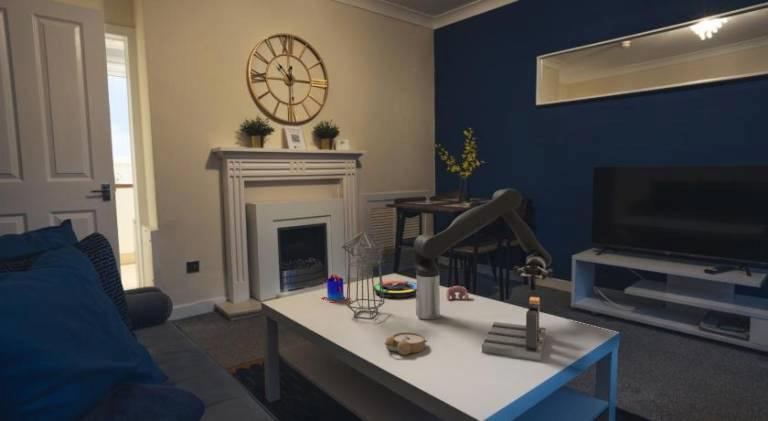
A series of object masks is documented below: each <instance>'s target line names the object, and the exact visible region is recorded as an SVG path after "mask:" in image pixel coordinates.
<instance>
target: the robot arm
mask: <svg viewBox="0 0 768 421" xmlns="http://www.w3.org/2000/svg"><path fill="white" fill-rule="evenodd" d="M491 198H492V199H491V201H489V202H486V203H483V204H481V205H478V206H475V207H472V208H470V209H468V210H466V211H464V212H463V213H460V215H458V216H457V217H456V218H455V219H454V220H453V221H452V222H451V224H450V225H449V226H448V227H447V228H446V229H444V230H443V231H441V232H439V233H437V234H435V235H429V234H421V235H417V237H416V239H415V240H414V243H413V263H414V268H415V272H416V284H417V292H416V294H415V315H416V316H417V318H418V320H420V319H422V320H435V319H438V318H440V317H441V309H440V308H441V306H440V305H441V304H440V303H441V302H440V300H441V299H440V293H441V292H440V268H439V266H438V265H437V263H436V260H435V259H438V257H441V255H443V254H444V253H445V252H446V251H448V250H449V249H450V248H452V247H453V246H454V245H456V244H458V243H459V242H461V241H463V240H464V239H466V238H468V237H469V236H472V235H473V234H475V233H476V232H477V231H480V230H481V229H482V228H484V227H485V226H487V225H489V224H491V222H493V221H494V220H496V219H498V218H499V217H500V216H502V218H503V220H505V222H506V223H507V225H508V226H509V228H510V229H511V230H512V232H513V234H514V235H515V236H516V239H517V241H518V242H519V244H520V246H521V248H522V249H523V251H524V252H525V253H531V252H532V254H531V255H528V256H527V257H526V259H525V265H524V266H522V267H520V266H519V265H515V266H514V267H513V268H512V270H513V271H512V275H513V276H516V277H518V278H521V277H528V278H530V279H533V280H537V279H541V280H546V279H553V268H549V269H547V270H546V267H549V266H550V265H551V264H552V261H553V259H552V258H553V257H552V256H551V255H550V253H549V252H548V251H547V250H546V249H545V248H544V247H543V246H542V244H540V242H539V241H538V240H537V238H536V236H535V234H534V232H533V230H532V228H530V227H529V225H528V224H527V223H526V222H525V221H524V220H523V219H522V218H521V217H520V216H519V215H518V214H517V212H516V211H515V209H517V208H518V207H519V206H520V204H521V203H522V202H521V201H522V194H521V193H520V191H518V190H517V189H514V188H503V189H499V190H496V191H495V192H494V193H493V195H492V197H491ZM533 252H535V253H533Z"/></svg>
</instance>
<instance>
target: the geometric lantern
mask: <svg viewBox="0 0 768 421" xmlns="http://www.w3.org/2000/svg"><path fill="white" fill-rule="evenodd" d="M363 236H364V237H365V240H366V242H362V238H363ZM375 240H377V241H378V242H377V241H375ZM357 243H358V246H357V247H356V245H357ZM386 244H387V245H388V242H386V241H384V240H382V239H380V238H378V237H376V236H374V235H372V234H370V233H369V232H367V231H361V232H360V233H358V234H357V235H355V236H354V237H352V238H351V239H349V240H347V241H346V242H344V243H343V244H342V245H340V247H341V248H342V249H343V250H344V251H345V252H347V254H348V255H347V258H348V260H347V261H348V263H347V281H346V282H347V283H346V285H347V286H346V287H347V288H346V298H347V300H346V301H345V302H346V305H345V306H346V307H347V308H348V309H350V310H351V311H352V312H353V318H360V319H361V318H362V319H369V320H370V319H374V318H375V317H376V316H377V315H378V314H379V308H381V307H382V306H383V305H384V304H385V303H386V302H385V297H384V292H383V282H384V281H383V276H382V265H381V263H382V252H383V250H384V247H385V246H386ZM365 245H368V246H365ZM361 246H362V247H361ZM349 249H350V250H349ZM354 249H357V252H358V253H357V254H356V253H354ZM379 249H380V250H379ZM360 250H363V251H362V252H360ZM369 251H371V252H372V253H373V254H374V255H373V257H372V260H365V258H366V257H367V254H368V252H369ZM364 253H365V254H364ZM350 254H351V257H350ZM362 254H364V255H363V256H362ZM377 255H379V259H378V257H377ZM356 256H360V258H361V260H359V259H357V257H356ZM353 257H354V258H355V261H353V262H351V261H352V258H353ZM374 259H376V260H374ZM363 262H364V263H363ZM367 262H369V263H370V264H369V265H368V263H367ZM355 263H357V264H355ZM359 263H361V265H359ZM372 263H375V264H373V265H372ZM363 264H365V265H363ZM377 265H378V275H379V276H378V277H379V283H380V295H379V296H380V299H376V294H375V291H374V286H375V285H374V284H375V283H374V275H373V274H374V273H373V267H375V266H377ZM351 267H356V297H355V300H353V301H352V302H351V300H350V298H351ZM359 267H361V298H358V297H359V296H358V292H359ZM364 268H366V283H367V284H366V285H367V286H366V287H367V289H366V290H367V298H364V272H363V271H364V270H363V269H364ZM369 268H370V272H371V284H372V296H373V299H370V288H369V285H370V284H369ZM381 285H382V294H383V296H382V294H381ZM348 297H349V300H348ZM359 301H361V304H360V302H359ZM363 301H367V306H365V307H364V305H363V304H364V302H363ZM370 301H372V302H373V306H370ZM355 302H357V305H358V306H351V305H352V304H354V303H355ZM376 302H379V303H378V304H377V305H376ZM354 309H355V310H354ZM357 310H359V311H357ZM359 313H360V314H369V317H367V316H366V317H365V316H357V315H359ZM374 313H375V314H374Z"/></svg>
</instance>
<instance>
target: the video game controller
mask: <svg viewBox="0 0 768 421" xmlns="http://www.w3.org/2000/svg"><path fill="white" fill-rule="evenodd" d="M456 293H458V295H457V294H456ZM445 295H446V298H447V301H450V299H451V298H452V299H453V300H454V299H456V298H459V299H463V298H465V300H466V301H468V300H469V292H468V289H467V288H466V287H465V286H461V285H454V286H453V285H452V286H450V287H448V288H447V289H446V294H445ZM457 296H458V297H457Z"/></svg>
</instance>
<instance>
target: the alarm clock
mask: <svg viewBox="0 0 768 421" xmlns="http://www.w3.org/2000/svg"><path fill="white" fill-rule="evenodd" d="M427 342H428V340H426V338H425V336H424V335H422V334H419V333H415V332H399V333H398V332H397V333H395V334H392V335H390V336H388V337H387V338H386V340H385V342H384V345H385V349H387V350H389V351H390V352H397V353H398V354H400V355H401V356H408V355H409V354H410V353H411V354H412V353H419V352H422V351H424V350H425V348H426V347H425V346H426V343H427Z"/></svg>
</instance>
